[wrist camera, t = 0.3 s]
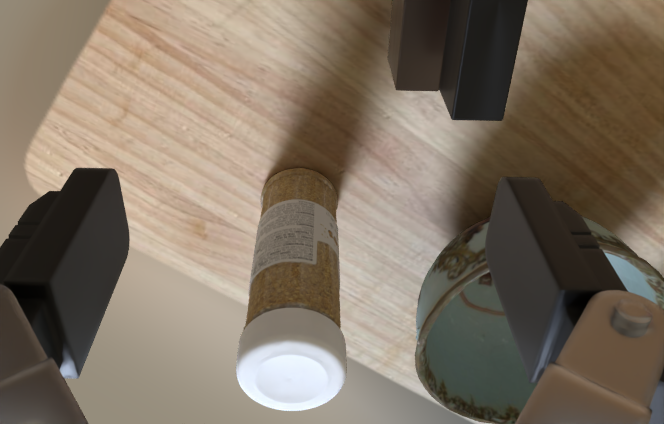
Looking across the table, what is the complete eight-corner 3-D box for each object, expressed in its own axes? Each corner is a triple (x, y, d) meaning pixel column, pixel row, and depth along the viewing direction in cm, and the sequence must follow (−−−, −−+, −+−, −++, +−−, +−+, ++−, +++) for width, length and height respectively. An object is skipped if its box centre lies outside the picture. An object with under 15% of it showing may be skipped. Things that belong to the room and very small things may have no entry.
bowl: (402, 163, 35) (422, 251, 28) (639, 154, 34) (715, 239, 28) (396, 333, 42) (410, 433, 36) (589, 326, 42) (639, 425, 36)
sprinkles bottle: (339, 226, 37) (349, 413, 26) (264, 230, 37) (242, 418, 26) (336, 161, 34) (345, 338, 23) (255, 165, 34) (226, 343, 23)
